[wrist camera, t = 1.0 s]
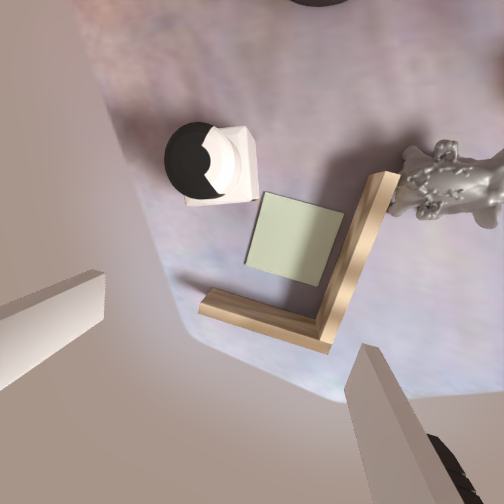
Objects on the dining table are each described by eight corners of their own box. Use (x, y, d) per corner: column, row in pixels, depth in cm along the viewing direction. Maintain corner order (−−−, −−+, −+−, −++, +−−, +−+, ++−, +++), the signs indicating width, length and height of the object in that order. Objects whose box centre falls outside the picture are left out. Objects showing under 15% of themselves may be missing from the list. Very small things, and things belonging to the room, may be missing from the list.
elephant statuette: (379, 154, 28) (406, 142, 21) (504, 124, 26) (584, 99, 18) (387, 231, 30) (414, 245, 23) (503, 211, 28) (576, 220, 20)
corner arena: (247, 142, 30) (239, 133, 25) (381, 178, 29) (400, 174, 24) (210, 297, 35) (198, 313, 30) (322, 332, 34) (327, 354, 29)
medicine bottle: (206, 204, 32) (161, 209, 21) (199, 146, 31) (146, 117, 19) (259, 200, 31) (243, 203, 20) (255, 139, 30) (235, 104, 18)
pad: (265, 191, 31) (265, 191, 31) (343, 213, 30) (344, 213, 30) (245, 264, 33) (245, 265, 33) (317, 286, 33) (317, 287, 32)
